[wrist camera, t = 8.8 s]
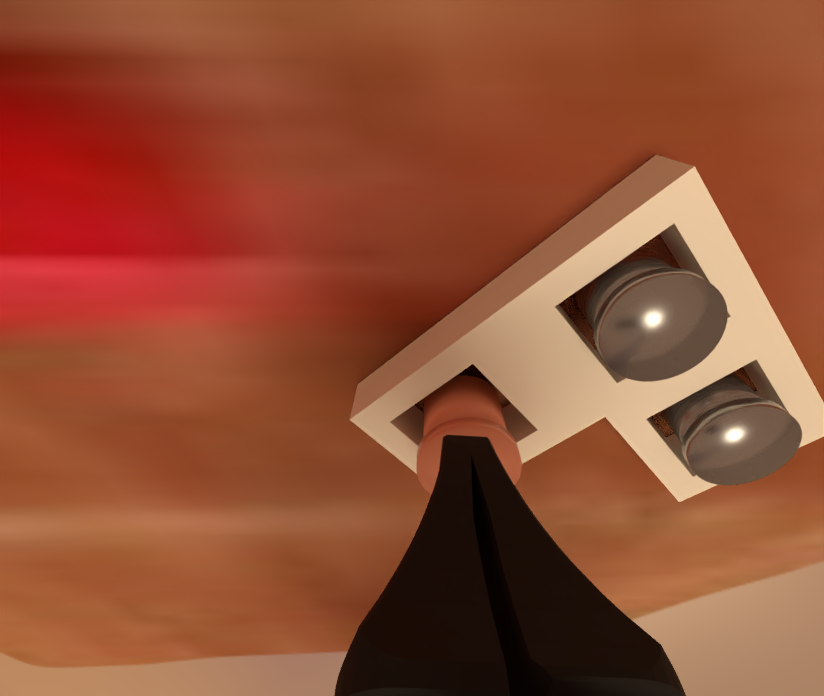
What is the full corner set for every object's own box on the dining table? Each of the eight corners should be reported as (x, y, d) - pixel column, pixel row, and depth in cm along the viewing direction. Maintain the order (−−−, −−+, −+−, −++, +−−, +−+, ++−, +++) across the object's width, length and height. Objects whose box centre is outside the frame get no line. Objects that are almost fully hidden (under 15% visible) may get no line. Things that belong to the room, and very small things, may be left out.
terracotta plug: (523, 410, 23) (542, 474, 19) (455, 452, 25) (460, 518, 21) (468, 353, 21) (478, 412, 18) (399, 403, 23) (394, 465, 19)
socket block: (793, 392, 24) (838, 429, 21) (524, 527, 30) (533, 568, 28) (655, 154, 18) (694, 166, 15) (357, 384, 24) (349, 419, 22)
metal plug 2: (754, 394, 23) (817, 453, 20) (671, 436, 25) (715, 498, 21) (718, 337, 22) (779, 391, 18) (632, 387, 23) (672, 445, 20)
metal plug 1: (688, 290, 21) (747, 337, 17) (600, 346, 22) (635, 399, 18) (641, 216, 19) (695, 249, 15) (549, 282, 20) (577, 327, 17)
